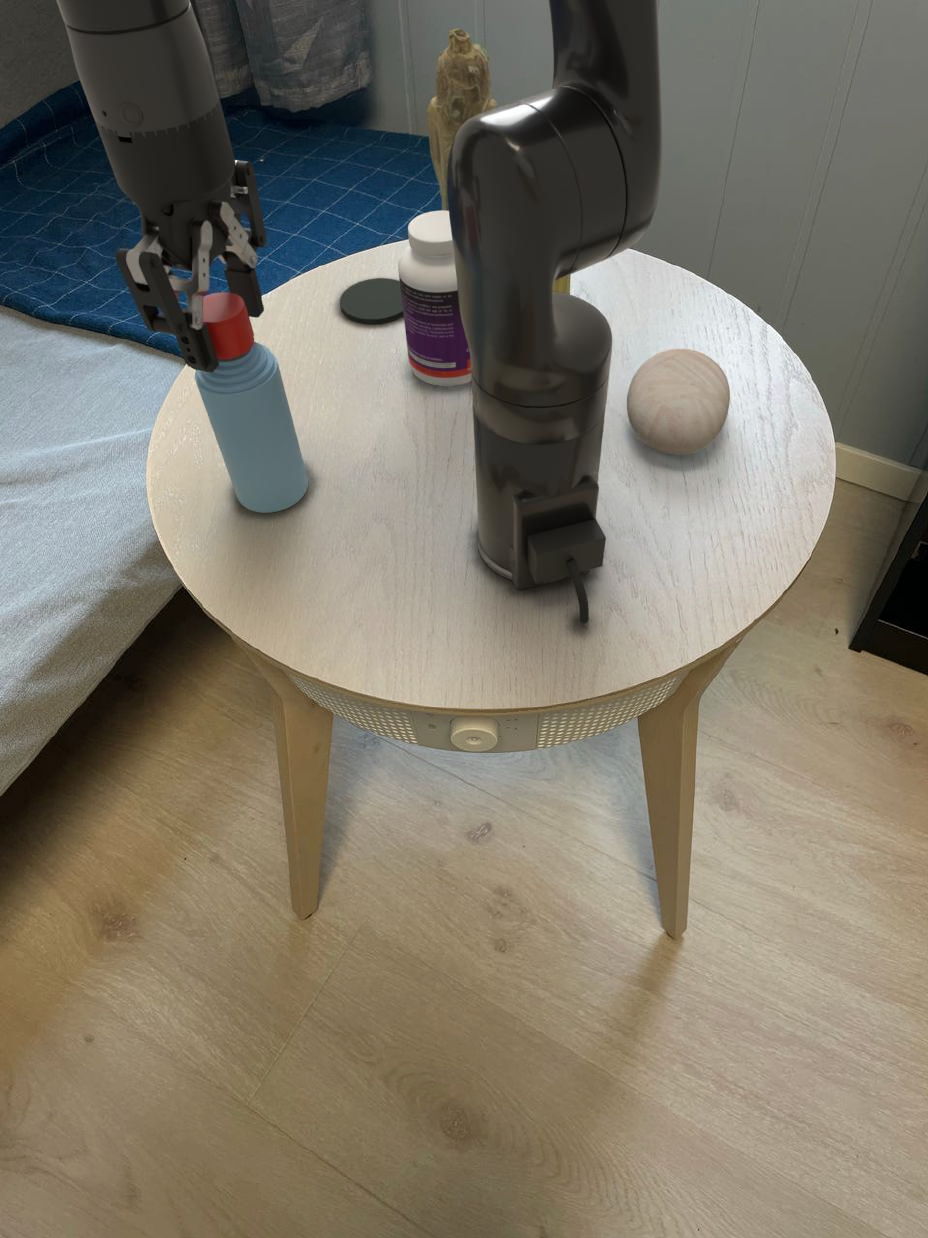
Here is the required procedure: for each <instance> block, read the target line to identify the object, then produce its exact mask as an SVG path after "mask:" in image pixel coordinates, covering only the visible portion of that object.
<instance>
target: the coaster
mask: <svg viewBox="0 0 928 1238" xmlns="http://www.w3.org/2000/svg"><path fill="white" fill-rule="evenodd" d="M339 306H340V310H341V312H342V314H343V315H344V316H345V317H346V318H347V319H349V320H351V321H353V322H356V323H360V324H365V325H379V324H386V323H389V322H392V321H395V320H398V319H400V318H402V317H404V314H403V305H402V297H401V288H400V280H397V279H393V278H386V277H377V278H369V279H363V280H361V281H358V282H356V283H354V284H352V285H350V286H349V287H348V288H346V289H345V290H344V291H343V292H342V294H341V296H340V299H339Z"/></svg>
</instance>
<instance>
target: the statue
mask: <svg viewBox="0 0 928 1238" xmlns="http://www.w3.org/2000/svg"><path fill="white" fill-rule="evenodd" d="M447 37H448V46H447V47H446V48H445V49H444V50H442V51H441V52H440V53H439V57H438V60H437V64H436V75H435V91H436V93H435V96H434V97H432V98H431V100H430V101H429V103H428V105H427V109H426V120H427V133H428V141H429V143H428V144H429V153H430V157H431V162H432V166H433V170H434V174H435V176H436V177H435V178H436V181H437V183H438V185H439V189H438V191H439V194H440V197H441V211H449V207H448V196H447V170H448V159H449V154H450V149H451V146H452V143H453V140H454V137H455V135H456V133H457V132H458V130H459V128H460V127H461V126H462V125H463V124H464V123H465V122H466V121H467V120H469V119H470V118H472V117H474V116H476V115H478V114H481V113H483V112H486V111H489V110H492V109H495V108H498V107H499V105H498V103H497V101H496V100H495V99H493V98H492V97H491V96H492V90H491V73H490V72H491V71H490V69H489V61H490V54H489V51H488V50H487V49H486V48H485V46H484V44H483V43H473V41H472V38H471V36H470V35H469V33H468V32H467V31H466V30H463V27H459V28H454V29H451V30H449V31H448V33H447Z"/></svg>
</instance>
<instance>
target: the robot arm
mask: <svg viewBox="0 0 928 1238" xmlns="http://www.w3.org/2000/svg"><path fill="white" fill-rule="evenodd" d="M56 4H57V6H58V9H59V13H60V14H61V17H62V21H63V22H64V25H65V26H64V27H65V29H66V33H67V36H68V40H69V44H70V49H71V53H72V57H73V62H74V65H75V69H76V72H77V75H78V78H79V81H80V85H81V86H82V89H83V92H84V95H85V97H86V100H87V103H88V106H89V108H90V111H91V114H92V117H93V119H94V122H95V125H96V128H97V130H98V133H99V136H100V138H101V141H102V144H103V147H104V150H105V153H106V156H107V158H108V162H109V164H110V166H111V169H112V173H113V175H114V177H115V180H116V182H117V183H116V184H117V185H118V187H119V189H120V190H121V191H122V193H123V194H125V196H127V197H128V198H129V199H130V201H132V202H133V203H134V204H135V205H136V207H137V208H138V210H139V214H140V220H141V222H140V223H141V234H142V238H141V239H140V241H138V243H137V244H136V245H135V246H134V247H133V248H131V249H130V248H124V247H120V248H119V249H117V251H116V255H115V261H116V264H117V266H118V267H117V268H118V269H119V271H120V273H121V275H122V277H123V280H124V282H125V284H126V286H127V288H128V291H129V292H130V295H131V297H132V299H133V301H134V303H135V305H136V307H137V309H138V313H139V314H140V316H141V318H142V320H143V322H144V325H145V327H146V329H147V330H148V331H149V332H152V333H161V334H165V335H171V336H175V338H176V341H177V344H178V347H179V350H180V352H181V355H182V359H183V360H184V363H185V364H186V365H187V367H189V368H191V369H193V370H195V371H196V370H200V371H205V372H214V371H215V369H216V368H217V367H218V366H219V361H218V358H217V355H216V352H215V349H214V346H213V343H212V340H211V337H210V333H209V330H208V327H207V324H206V323H203V297H204V296H205V294H207V293H208V292H209V291H210V267H211V266H212V265H213V263H214V261H215V259H216V258H218V260H219V261H220V262H221V263H222V264H223V265H227V266H225V267H224V269H223V273H224V277H225V280H226V284H227V287H228V291H229V293H234V294H237V295H239V296H240V297H241V298H242V299H243V300H244V303H245V307H247V311H248V314H249V318H256V319H259V317H260V316H261V315H262V314H263V313H264V311H265V306H264V302H263V297H262V296H263V295H262V291H261V289H260V287H261V286H260V284H259V280H258V276H257V272H256V268H257V264H258V263H259V262H258V261H259V260H258V259H259V257H258V254H257V250H258V249H259V248H261V249H263V248H265V246H266V245H267V241H268V240H267V232H266V227H265V226H266V225H265V222H264V216H263V212H262V206H261V201H260V195H259V191H258V185H257V181H256V175H255V170H254V166H253V163H252V162H251V161H246V160H239V159H235V155H234V150H233V147H232V143H231V138H230V135H229V131H228V126H227V123H226V120H225V116H224V111H223V107H222V103H221V100H220V95H219V92H218V87H217V85H216V80H215V76H214V71H213V68H212V67H213V66H212V64H211V60H210V56H209V52H208V49H207V45H206V41H205V39H204V36H203V34H202V31H201V28H200V26H199V23H198V21H197V18H196V15H195V13H194V12H195V11H194V9H193V6H192V3H191V0H56ZM548 4H549V5H548V6H549V12H550V24H551V35H552V36H551V37H552V51H553V72H552V73H553V74H552V75H553V76H552V87H551V89H549V90H545V91H543V92H542V91H541V92H540V93H537V94H534V95H531V96H528V97H524V98H522V99H518V100H515V101H512V102H510V103H507V104H504V105H501V106H498V108H495V109H492V110H489V111H486V112H483V113H481V114H478V115H476V116H474V117H472V118H470V119H469V120H467V121H466V122H465V123H464V124H463V125H462V126H461V127H460V128H459V130H458V132H457V133H456V135H455V137H454V140H453V143H452V146H451V149H450V154H449V159H448V170H447V196H448V207H449V218H450V226H451V234H452V242H453V250H454V259H455V268H456V277H457V288H458V299H459V307H460V314H461V319H462V324H463V327H464V331H465V335H466V339H467V342H468V346H469V351H470V360H471V380H472V381H471V397H472V399H471V400H472V424H473V443H474V444H473V446H474V465H475V485H476V487H475V489H476V509H477V524H478V525H477V526H478V528H477V546H478V551H479V554H480V556H481V558H482V560H483V561H484V562H485V564H486V565H487V566H488V567H489V568H490V569H491V570H492V571H494V572H495V574H498V575H499V576H502V577H503V578H505V579H508V580H510V581H511V582H512V583H513V584H514V587H515V588H516V590H519V591H523V590H525V589H531V588H534V587H537V586H541V585H546V584H550V583H555V582H559V581H561V580H565V579H569V578H570V579H571V581H572V584H573V587H574V592H575V594H576V598H577V602H578V609H579V622H580V623H581V624H587V623H588V622H589V621H590V617H589V614H590V613H589V611H590V610H589V600H588V595H587V591H586V587H585V585H584V581H583V579H582V576H581V575H584V574H588V573H589V572H590V571H591V570H595V569H599V568H603V565H604V558H605V550H606V549H605V547H606V540H607V537H606V535H605V533H604V532H603V530H602V528H601V526H600V524H599V522H598V521H597V519H596V518H597V510H598V501H599V490H600V485H599V474H600V466H601V465H600V464H601V457H602V448H603V447H602V446H603V437H604V428H605V427H604V426H605V418H606V409H607V401H608V391H609V382H610V372H611V364H612V354H613V333H612V329H611V326H610V323H609V321H608V320H607V318H606V316H605V315H604V313H602V312H601V311H600V310H599V309H598V308H597V307H595V306H594V305H593V304H592V303H590V302H588V301H586V300H585V299H583V298H580V297H578V296H575V295H572V294H571V293H570V294H566V293H562V292H557V291H553V286H554V281H556V280H558V279H561V278H563V277H565V276H568V275H570V274H571V275H572V274H575V273H577V272H579V271H583V270H584V269H587V268H589V267H592V266H594V265H596V264H599V263H600V262H604V261H606V260H608V259H611V258H612V257H614V256H616V255H619V254H620V253H622V252H624V251H626V250H628V249H629V248H631V247H632V246H634V245H635V244H636V243H637V242H639V240H641V238H642V237H643V236H644V235H645V234H646V232H647V230H648V228H649V227H650V226H651V223H652V220H653V218H654V214H655V212H656V208H657V205H658V200H659V195H660V188H661V180H662V167H663V165H662V164H663V163H662V162H663V115H662V111H663V109H662V83H661V82H662V81H661V80H662V79H661V56H660V53H661V52H660V26H659V25H660V24H659V0H548ZM241 215H242V216H245V217H247V219H248V223H249V227H243V224H242V219H241ZM173 267H174V268H175V269H177V270H179V271H181V270H182V271H187V272H191V273H192V275H191V278H184V277H178V276H176V275H175V274H174V271H173ZM180 292H183V293H185V295H186V308H182V307H181V305H180V302H179V297H180V296H179V293H180ZM159 309H160V310H161V311H159Z"/></svg>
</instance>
